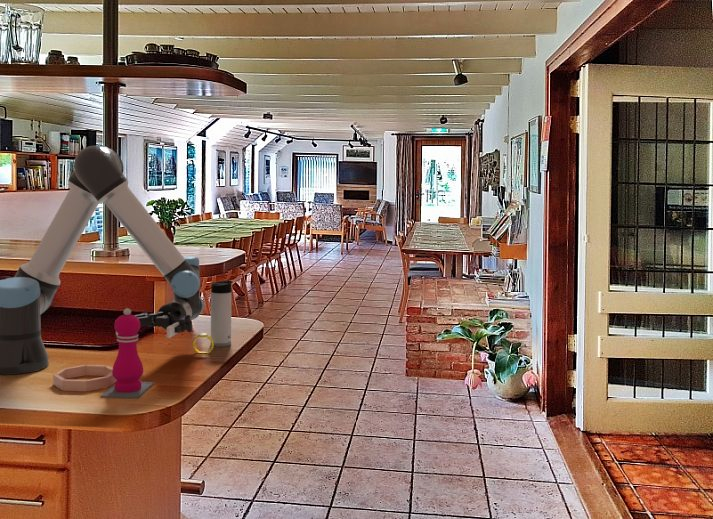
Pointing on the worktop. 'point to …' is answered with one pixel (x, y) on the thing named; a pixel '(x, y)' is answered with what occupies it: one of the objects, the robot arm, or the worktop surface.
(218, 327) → the travel mug
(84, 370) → the octagonal frame ring
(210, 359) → the worktop surface
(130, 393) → the mat
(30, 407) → the worktop surface
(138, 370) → the pepper mill
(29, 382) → the worktop surface
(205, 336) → the watch
